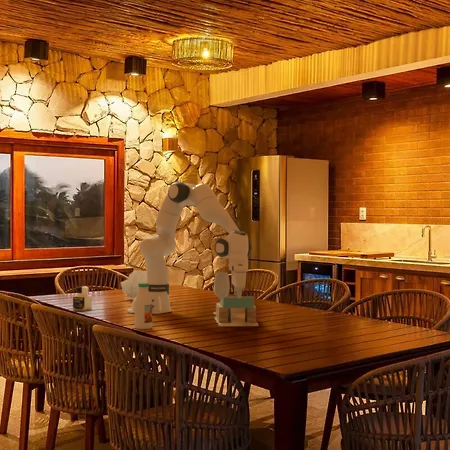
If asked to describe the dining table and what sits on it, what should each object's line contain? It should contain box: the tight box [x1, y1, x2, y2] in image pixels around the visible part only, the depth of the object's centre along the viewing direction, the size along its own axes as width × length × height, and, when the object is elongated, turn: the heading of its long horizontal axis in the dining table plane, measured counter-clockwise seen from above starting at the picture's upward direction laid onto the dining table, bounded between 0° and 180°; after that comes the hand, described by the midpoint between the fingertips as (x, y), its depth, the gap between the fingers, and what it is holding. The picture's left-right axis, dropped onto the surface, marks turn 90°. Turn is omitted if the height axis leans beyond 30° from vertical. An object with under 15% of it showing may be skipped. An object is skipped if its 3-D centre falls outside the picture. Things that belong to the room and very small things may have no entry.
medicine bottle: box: [72, 285, 93, 311], centre depth 352 cm, size 7×7×12 cm
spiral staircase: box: [120, 269, 147, 300], centre depth 388 cm, size 18×18×25 cm
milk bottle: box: [134, 283, 153, 330], centre depth 297 cm, size 8×8×20 cm
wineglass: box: [212, 271, 231, 316], centre depth 340 cm, size 9×9×21 cm
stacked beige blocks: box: [214, 302, 259, 327], centre depth 315 cm, size 20×18×11 cm
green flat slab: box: [219, 296, 255, 308], centre depth 314 cm, size 14×14×5 cm
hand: (237, 296), depth 308 cm, fingers open, 8 cm apart
